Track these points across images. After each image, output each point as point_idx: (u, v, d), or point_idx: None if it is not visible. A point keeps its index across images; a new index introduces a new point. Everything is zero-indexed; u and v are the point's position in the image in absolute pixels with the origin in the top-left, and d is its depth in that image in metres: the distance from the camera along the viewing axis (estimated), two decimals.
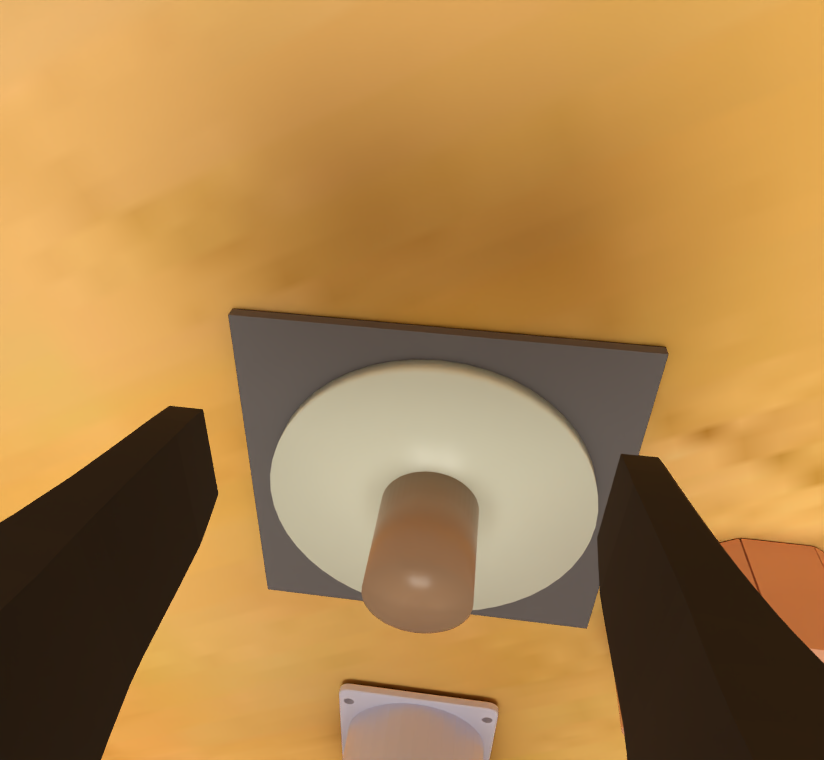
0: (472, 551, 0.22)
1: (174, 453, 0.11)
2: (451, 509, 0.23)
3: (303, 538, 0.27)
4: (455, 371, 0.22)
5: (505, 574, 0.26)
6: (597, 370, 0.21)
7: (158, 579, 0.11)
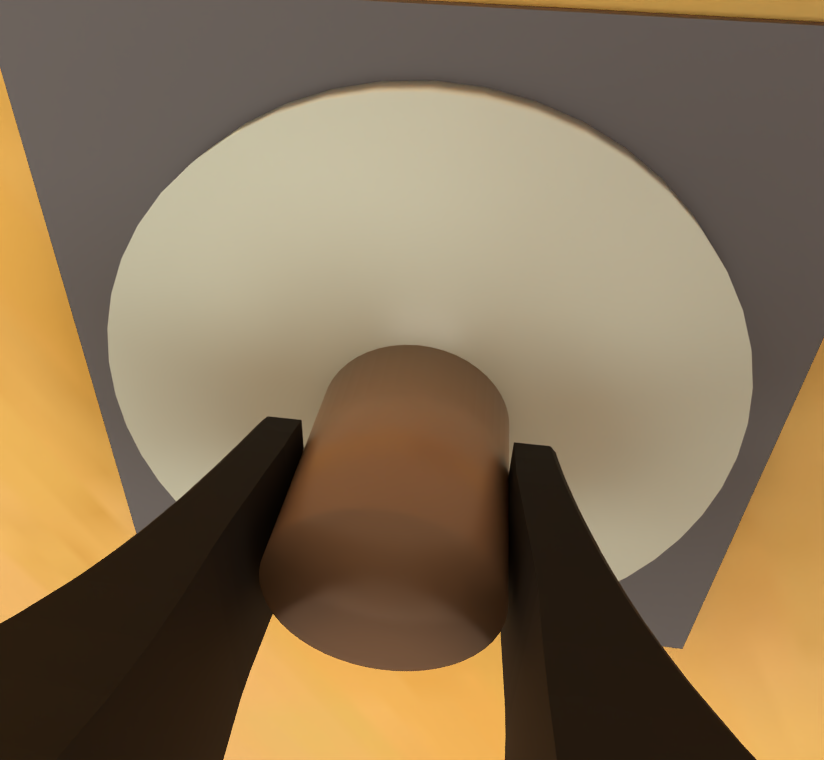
0: (347, 437, 0.10)
1: (281, 465, 0.10)
2: (310, 434, 0.11)
3: None
4: (117, 365, 0.13)
5: (615, 293, 0.11)
6: (63, 121, 0.11)
7: None
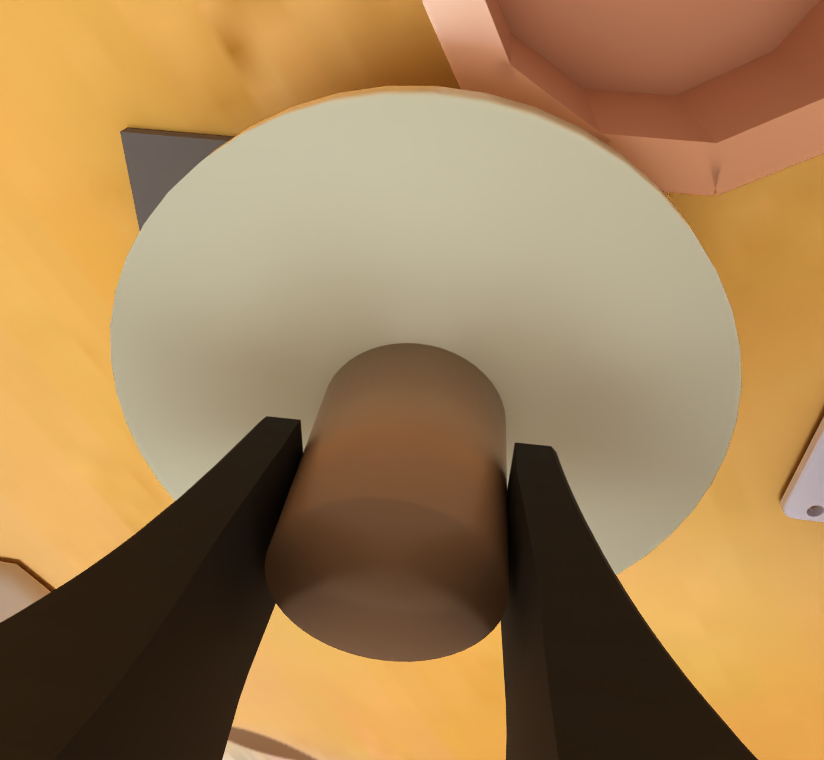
0: (351, 431, 0.10)
1: (280, 464, 0.10)
2: (312, 430, 0.12)
3: None
4: (118, 362, 0.13)
5: (610, 293, 0.11)
6: None
7: (262, 592, 0.10)
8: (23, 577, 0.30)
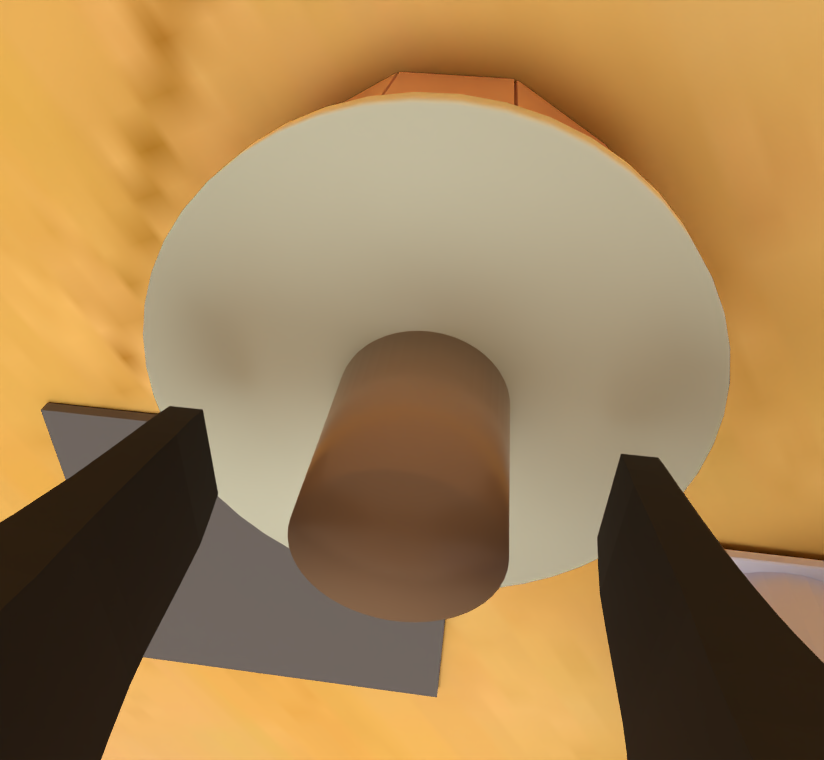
0: (370, 410, 0.11)
1: (174, 453, 0.11)
2: (332, 408, 0.13)
3: None
4: (149, 339, 0.14)
5: (612, 292, 0.12)
6: (80, 457, 0.23)
7: (158, 579, 0.11)
8: None
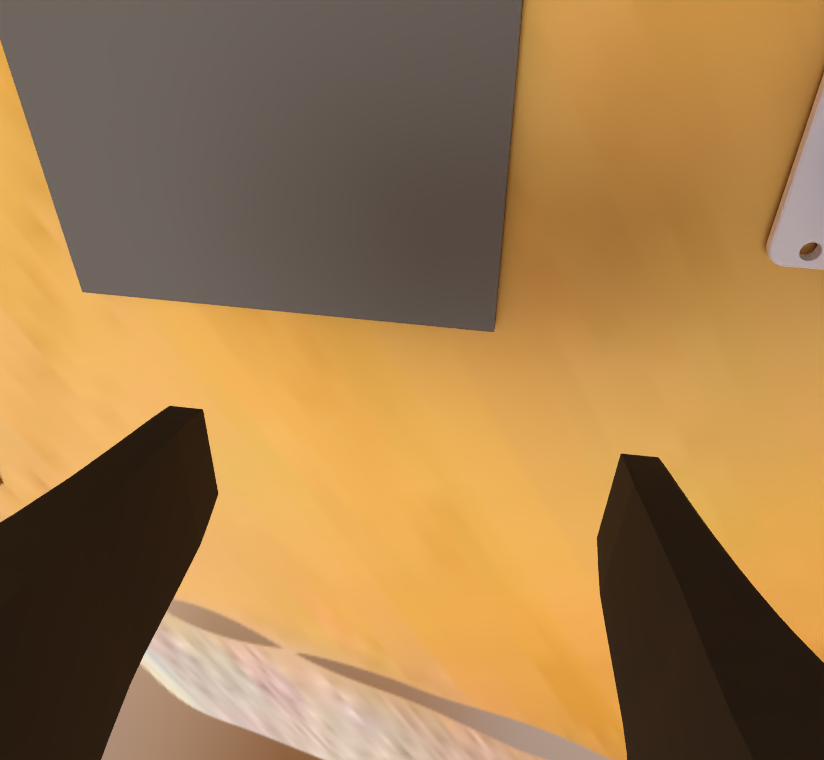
0: None
1: (174, 453, 0.11)
2: None
3: None
4: None
5: None
6: None
7: (158, 579, 0.11)
8: None
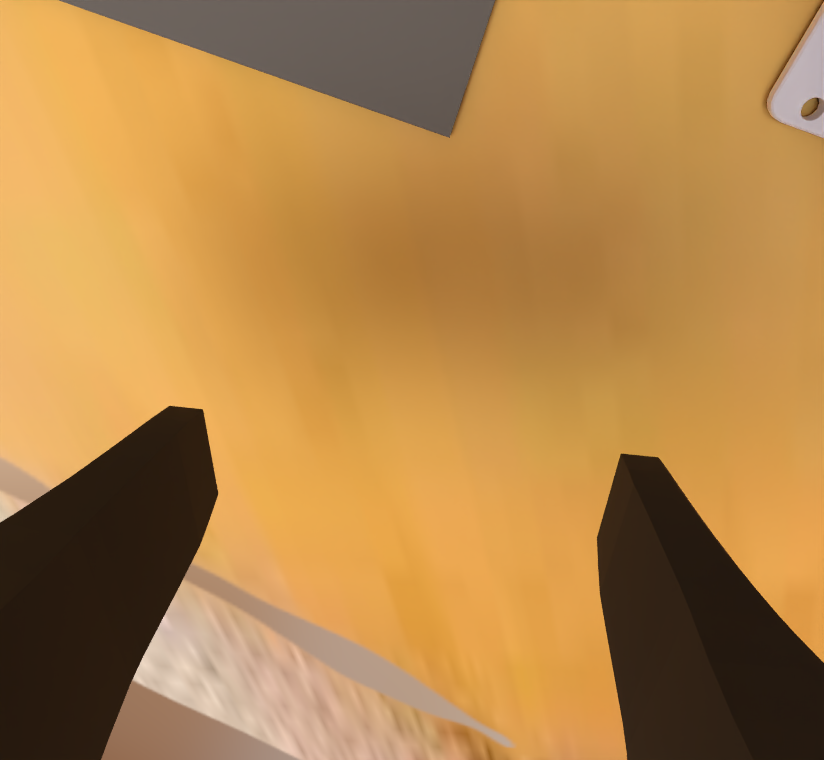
0: None
1: (174, 452, 0.11)
2: None
3: None
4: None
5: None
6: None
7: (158, 579, 0.11)
8: None
